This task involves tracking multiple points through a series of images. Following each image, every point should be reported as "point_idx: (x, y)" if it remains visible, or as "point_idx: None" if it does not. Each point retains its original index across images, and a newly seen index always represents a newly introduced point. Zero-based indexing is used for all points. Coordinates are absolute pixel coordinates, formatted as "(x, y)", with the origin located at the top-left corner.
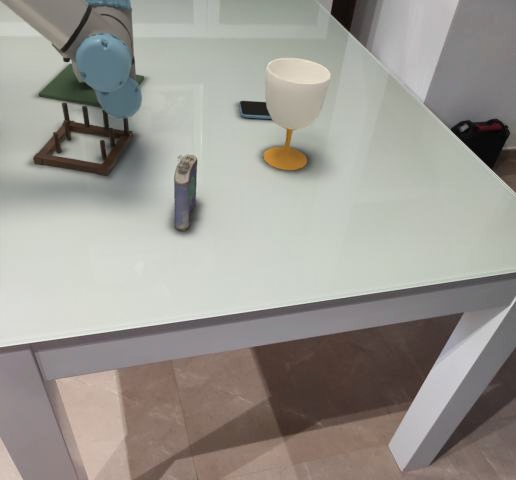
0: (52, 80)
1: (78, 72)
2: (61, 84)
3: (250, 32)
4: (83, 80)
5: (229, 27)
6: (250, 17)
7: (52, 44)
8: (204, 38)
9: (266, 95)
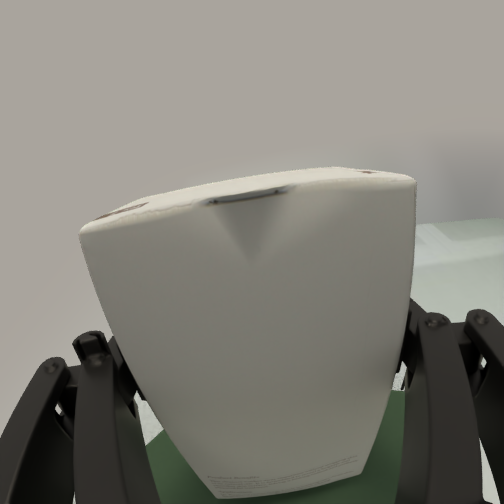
0: (159, 434)
1: (209, 486)
2: (174, 459)
3: (490, 246)
4: (232, 497)
5: (465, 243)
6: (469, 231)
7: (62, 417)
8: (456, 261)
9: None
